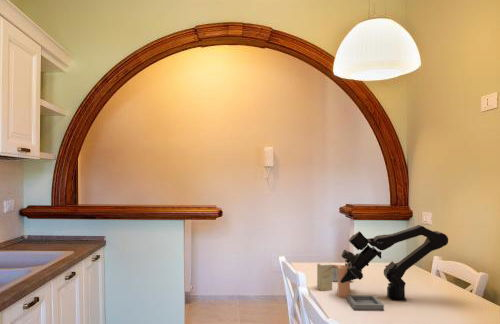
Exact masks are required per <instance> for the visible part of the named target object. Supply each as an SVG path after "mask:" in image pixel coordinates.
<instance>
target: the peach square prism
mask: <svg viewBox="0 0 500 324" xmlns="http://www.w3.org/2000/svg"><path fill="white" fill-rule="evenodd" d="M336 265H337V269H338V282H337V295H338V297H339V298H347V295H351V281H347V282H344V283H341V282H340V281H341V279H342V278H343V277H344V276H345V274H346V273H347V267H348V268H349V266H343V265H344V264H343V265H342V264H336Z"/></svg>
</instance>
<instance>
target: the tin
mask: <svg viewBox="0 0 500 324" xmlns="http://www.w3.org/2000/svg"><path fill="white" fill-rule="evenodd" d="M337 265H338V264H332V283H334V282H336V283H338V269H337ZM343 266H345V264H343Z"/></svg>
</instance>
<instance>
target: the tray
mask: <svg viewBox="0 0 500 324" xmlns="http://www.w3.org/2000/svg"><path fill="white" fill-rule="evenodd" d="M346 301H347V302H348V303H350V304H349V305H350V306H351V308H352V307H353V308H352V309H353V310H354V311H371V312H373V311H374V312H375V311H376V312H377V311H378V312H379V311H380V312H381V311H383V312H384V310H385V305H384V303H382V302H381V301H380V300H379V298H377V297H376V296H375V294H374V295H372V294H371V295H369V294H367V295H366V294H363V295H362V294H350V295H347V297H346Z"/></svg>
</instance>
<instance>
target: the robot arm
mask: <svg viewBox="0 0 500 324" xmlns="http://www.w3.org/2000/svg"><path fill="white" fill-rule="evenodd" d="M419 236H423V237H426V238H425V240H424V242H423V243H422V244H421V245H419V246H418V247H417V248H416V249H414V250H413V251H412V252H410V253H409V254H407V255H405V257H403V258H402V259H401V260H400V261H398V262H394V261H393V260H392V261H390V263H389V264H387V265H385V268H384V269H383V275H384V277H385V278H386V279H387V281H388V282H389V283H387V287H386V297H388V298H389V300H391V301H404V302H405V301H407V299H406V295H405V294H406V290H405V289H406V282H405V281H404V279H402V278H403V276H404V275H405V273H406V272H407V270H408V269H409V270H410V268H412V266H413V267H414V265H415V264H417V263H418V262H419V261H421V260H422V259H423V258H425V257H426V256H428V254H430V253H431V252H433V251H436V250H439V249H441V248H443V247H445V246H447V245H448V243H449V237H448V236H447V234H445V233H443V232H440V231H436V230H434V231H433V230H431V229H429V228H426V227H425V226H424V225H421V224H417V225H416V226H413V227H409V228H407V229H404V230H401V231H397V232H393V233H390V234H379V235H376V236H374V237H372V238H367V237H366V236H364V235H363V233H362V232H361V231H357V232H356V233H355V234H353V235H352V236H351V237H350V238H349V239H348V242H349V243H350V244H351V245H352V246H353V247H354V248H355V249H356V250H357V251H359V250H360V252H359V253H355V254H354V253H353V252H351V251H348V250H346V249H343V250H342V253H341V257H342V258H343V259H344V261H345V263H344V265H345V266H349V268H348V267H347V273H346V274H345V276H344V277H343V278H342V279H341V281H340V282H341V283H344V282H347V281H350V282H351V281H354V280H359V281H361V280H362V279H363V278H364V274H363V269H364V268H365V267H369V265H370V263H371V262H372V261H373V260H374V258H376V257H378V258H379V259H382V251H385V250H387V249H389V248H391V247H392V246H394V245H395V244H397V243H400V242H403V241H407V240H410V239H412V238H416V237H419Z"/></svg>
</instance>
